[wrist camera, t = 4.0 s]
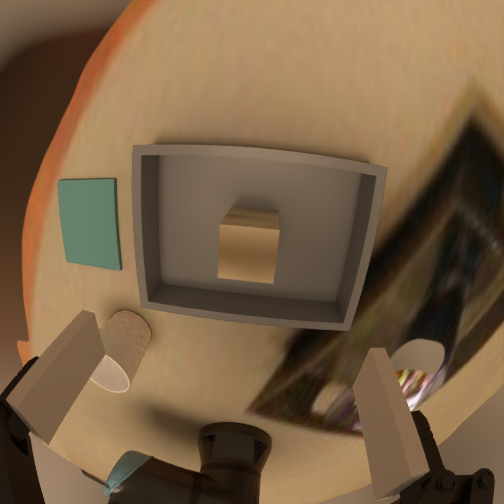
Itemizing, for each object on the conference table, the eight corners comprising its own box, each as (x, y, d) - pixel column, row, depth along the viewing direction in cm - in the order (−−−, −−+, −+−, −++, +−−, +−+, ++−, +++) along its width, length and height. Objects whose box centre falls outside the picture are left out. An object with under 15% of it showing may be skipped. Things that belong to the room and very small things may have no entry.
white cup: (110, 298, 36) (74, 338, 27) (157, 317, 36) (129, 365, 27) (110, 336, 39) (81, 377, 30) (153, 354, 39) (130, 400, 30)
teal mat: (122, 268, 34) (120, 270, 33) (69, 260, 34) (66, 261, 34) (116, 178, 29) (113, 179, 29) (60, 180, 30) (57, 180, 29)
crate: (340, 307, 34) (349, 330, 29) (156, 287, 34) (141, 307, 30) (369, 163, 27) (387, 167, 22) (153, 144, 28) (132, 145, 23)
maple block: (273, 254, 31) (273, 283, 25) (229, 249, 31) (217, 277, 25) (278, 210, 29) (279, 230, 23) (231, 206, 29) (219, 224, 23)
